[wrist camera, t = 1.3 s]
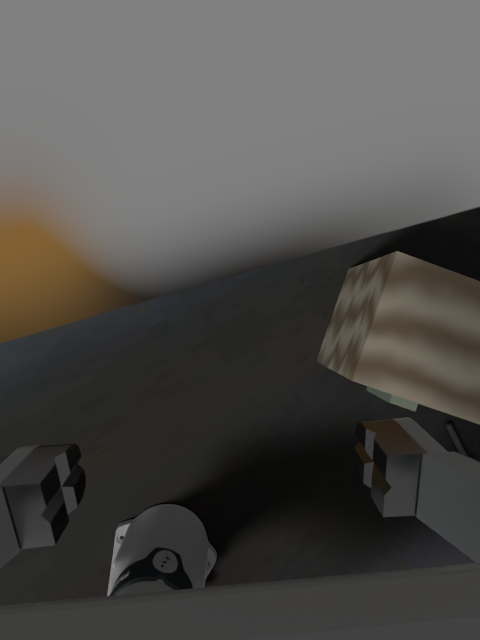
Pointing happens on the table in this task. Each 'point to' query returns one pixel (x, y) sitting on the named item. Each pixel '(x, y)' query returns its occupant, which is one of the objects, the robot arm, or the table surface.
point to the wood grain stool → (409, 333)
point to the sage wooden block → (394, 399)
